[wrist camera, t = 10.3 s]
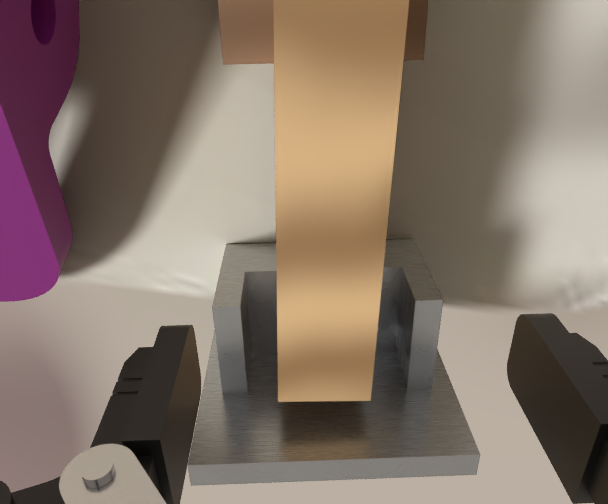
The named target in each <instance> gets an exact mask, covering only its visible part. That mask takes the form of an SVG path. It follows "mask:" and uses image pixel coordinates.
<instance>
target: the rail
mask: <svg viewBox="0 0 608 504" xmlns="http://www.w3.org/2000/svg"><path fill="white" fill-rule="evenodd" d="M408 8H409V0H273V11H274V96H275V181H276V266H277V351H278V402H303V401H371V392H372V382H373V372H374V361H375V351H376V340H377V330H378V320H379V309H380V299H381V289H382V278H383V268H384V257H385V247H386V237H387V226H388V216H389V205H390V195H391V185H392V174H393V164H394V154H395V143H396V133H397V122H398V112H399V102H400V91H401V81H402V70H403V60H404V50H405V39H406V29H407V18H408Z"/></svg>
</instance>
